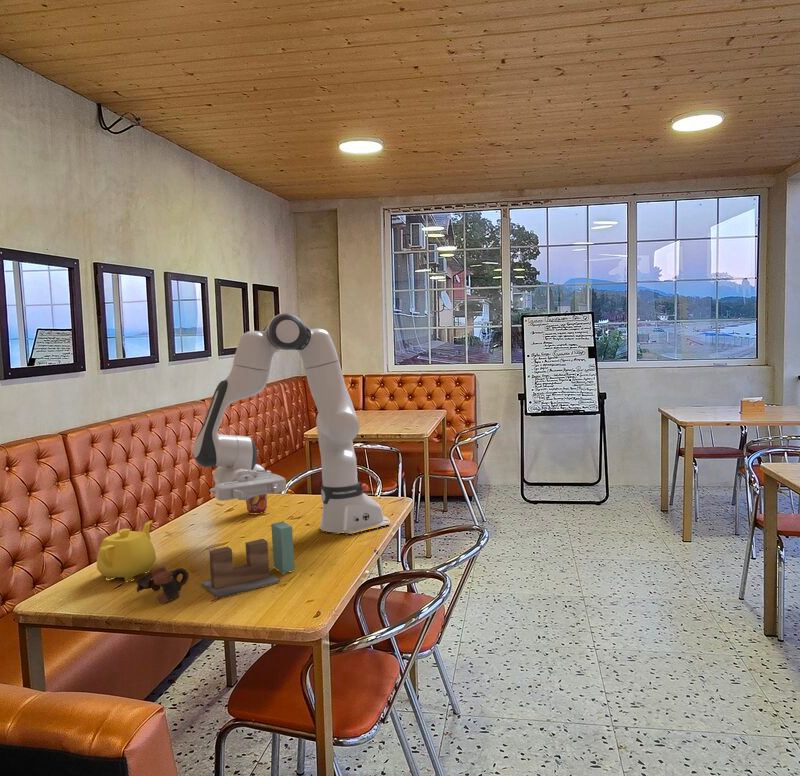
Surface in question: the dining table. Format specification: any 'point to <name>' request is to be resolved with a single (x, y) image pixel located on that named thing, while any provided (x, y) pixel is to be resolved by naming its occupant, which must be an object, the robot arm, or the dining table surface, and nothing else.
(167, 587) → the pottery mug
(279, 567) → the teal green rectangular block
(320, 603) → the dining table surface
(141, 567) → the teapot
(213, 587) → the walnut slotted plate
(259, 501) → the smoothie
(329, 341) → the robot arm
